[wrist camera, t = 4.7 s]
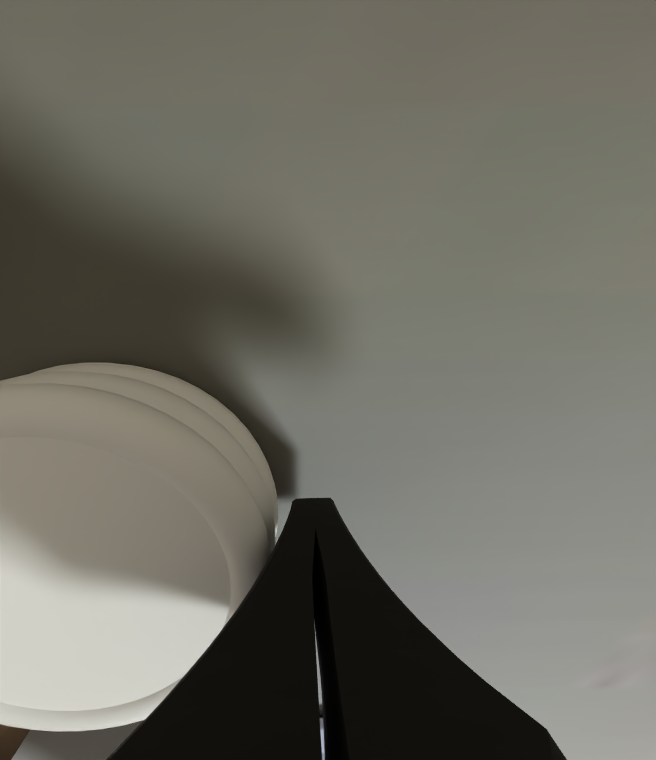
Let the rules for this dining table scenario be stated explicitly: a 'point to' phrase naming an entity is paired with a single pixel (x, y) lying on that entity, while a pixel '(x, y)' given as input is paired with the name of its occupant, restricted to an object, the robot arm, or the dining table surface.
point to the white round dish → (119, 539)
